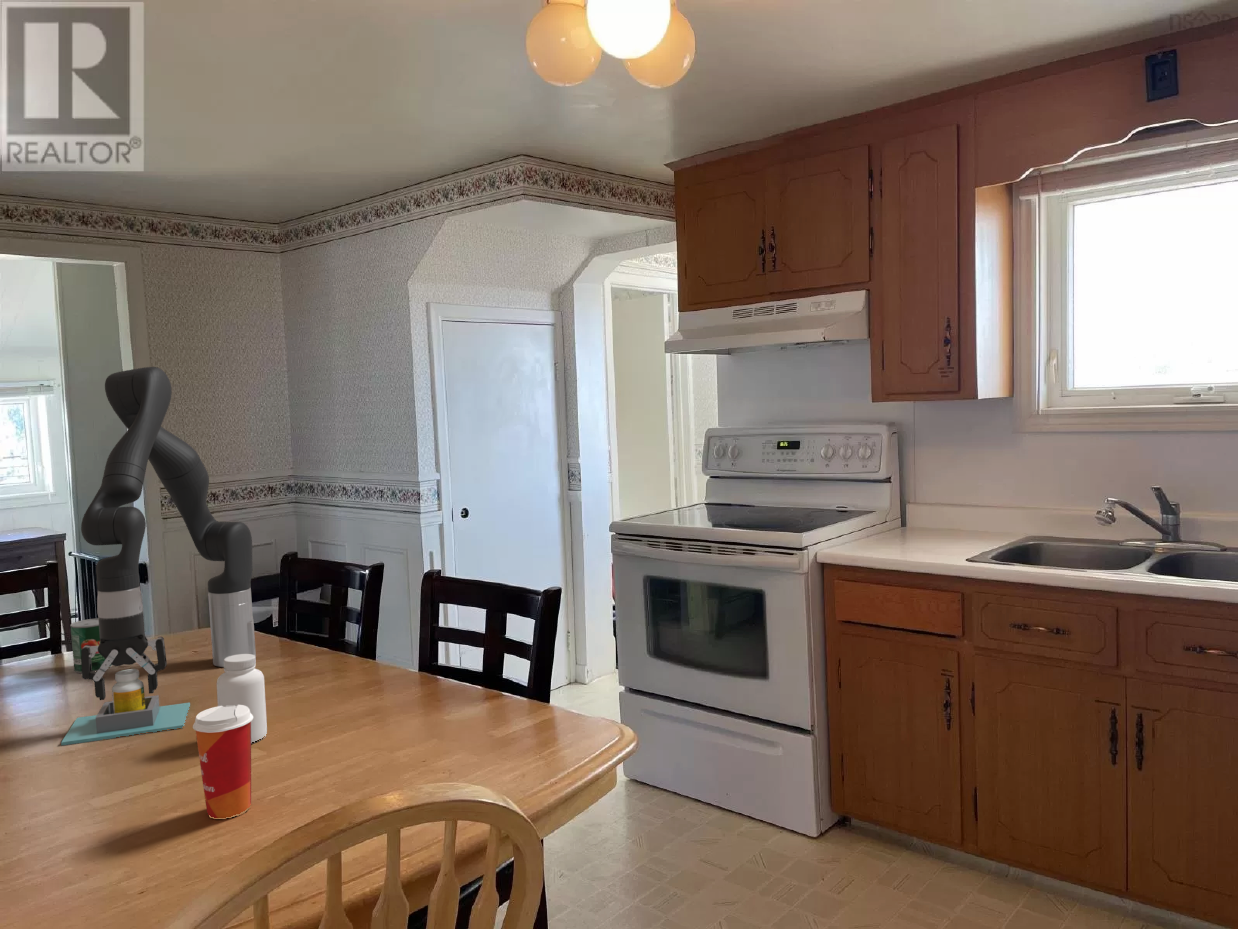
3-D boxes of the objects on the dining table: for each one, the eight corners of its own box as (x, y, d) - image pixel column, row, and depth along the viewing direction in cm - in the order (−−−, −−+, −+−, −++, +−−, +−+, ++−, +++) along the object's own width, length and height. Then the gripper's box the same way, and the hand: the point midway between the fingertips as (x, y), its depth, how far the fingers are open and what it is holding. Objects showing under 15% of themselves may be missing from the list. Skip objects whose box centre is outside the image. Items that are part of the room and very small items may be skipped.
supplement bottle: (112, 721, 175) (108, 672, 175) (142, 714, 179) (139, 666, 178) (117, 728, 171) (113, 678, 170) (149, 721, 174) (145, 671, 174)
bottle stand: (190, 705, 185) (188, 688, 184) (183, 728, 172) (182, 709, 171) (77, 720, 178) (76, 702, 178) (61, 745, 165) (59, 726, 164)
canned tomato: (90, 663, 218) (86, 618, 218) (120, 663, 217) (116, 618, 216) (65, 673, 211) (62, 626, 210) (96, 673, 209) (93, 626, 209)
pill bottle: (277, 733, 167) (272, 653, 166) (242, 749, 160) (237, 666, 159) (245, 728, 170) (240, 649, 169) (210, 744, 163) (204, 661, 162)
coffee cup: (210, 800, 140) (204, 704, 138) (266, 796, 140) (259, 701, 139) (189, 826, 131) (182, 724, 130) (248, 822, 132) (242, 721, 131)
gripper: (164, 603, 179) (170, 684, 180) (81, 612, 174) (88, 695, 175) (160, 611, 172) (166, 696, 173) (73, 620, 167) (80, 707, 168)
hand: (127, 695), depth 174 cm, fingers open, 8 cm apart
